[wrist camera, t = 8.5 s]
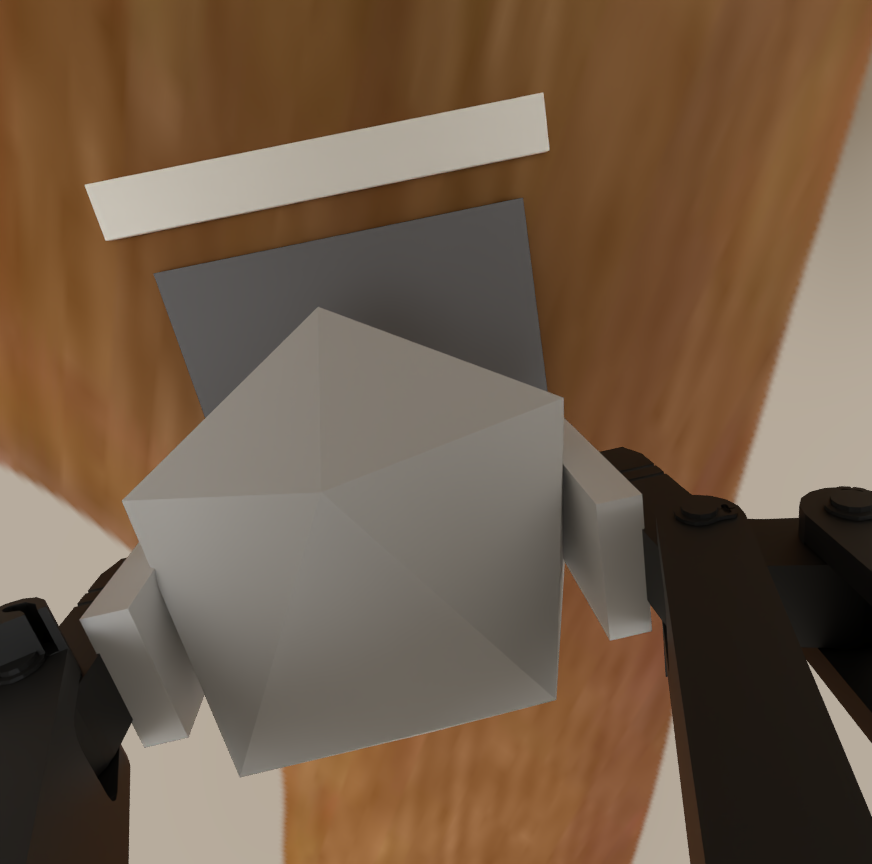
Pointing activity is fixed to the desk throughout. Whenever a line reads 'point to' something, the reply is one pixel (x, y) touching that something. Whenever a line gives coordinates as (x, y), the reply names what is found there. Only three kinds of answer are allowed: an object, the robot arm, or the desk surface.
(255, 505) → the die
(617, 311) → the desk surface
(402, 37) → the desk surface
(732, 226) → the desk surface
